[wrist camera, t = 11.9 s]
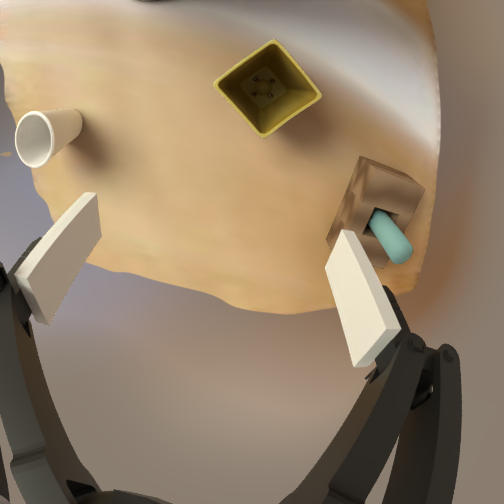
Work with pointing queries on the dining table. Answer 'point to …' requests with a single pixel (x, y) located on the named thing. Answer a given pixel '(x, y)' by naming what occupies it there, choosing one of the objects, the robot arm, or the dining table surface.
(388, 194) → the block
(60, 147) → the dixie cup
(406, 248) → the pin
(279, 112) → the flower pot
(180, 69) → the dining table surface
